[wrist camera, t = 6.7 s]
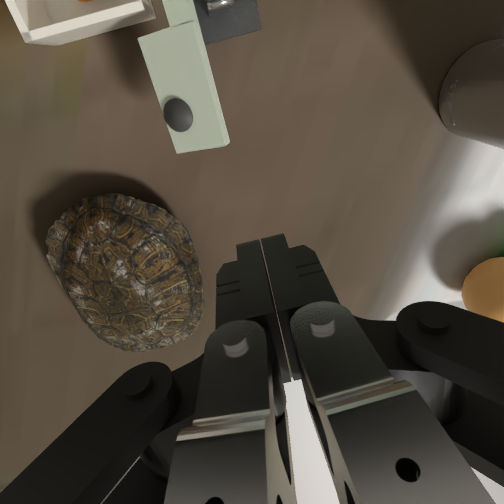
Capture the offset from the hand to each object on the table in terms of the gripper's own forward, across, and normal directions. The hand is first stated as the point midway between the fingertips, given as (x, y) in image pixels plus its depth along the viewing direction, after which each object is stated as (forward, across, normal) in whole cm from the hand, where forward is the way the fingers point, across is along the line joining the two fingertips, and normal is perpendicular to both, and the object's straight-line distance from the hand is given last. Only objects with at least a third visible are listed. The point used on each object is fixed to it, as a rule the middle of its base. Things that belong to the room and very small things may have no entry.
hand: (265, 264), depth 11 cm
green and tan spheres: (+29, -30, +28) cm, 50 cm away
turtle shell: (+28, +16, +13) cm, 35 cm away
